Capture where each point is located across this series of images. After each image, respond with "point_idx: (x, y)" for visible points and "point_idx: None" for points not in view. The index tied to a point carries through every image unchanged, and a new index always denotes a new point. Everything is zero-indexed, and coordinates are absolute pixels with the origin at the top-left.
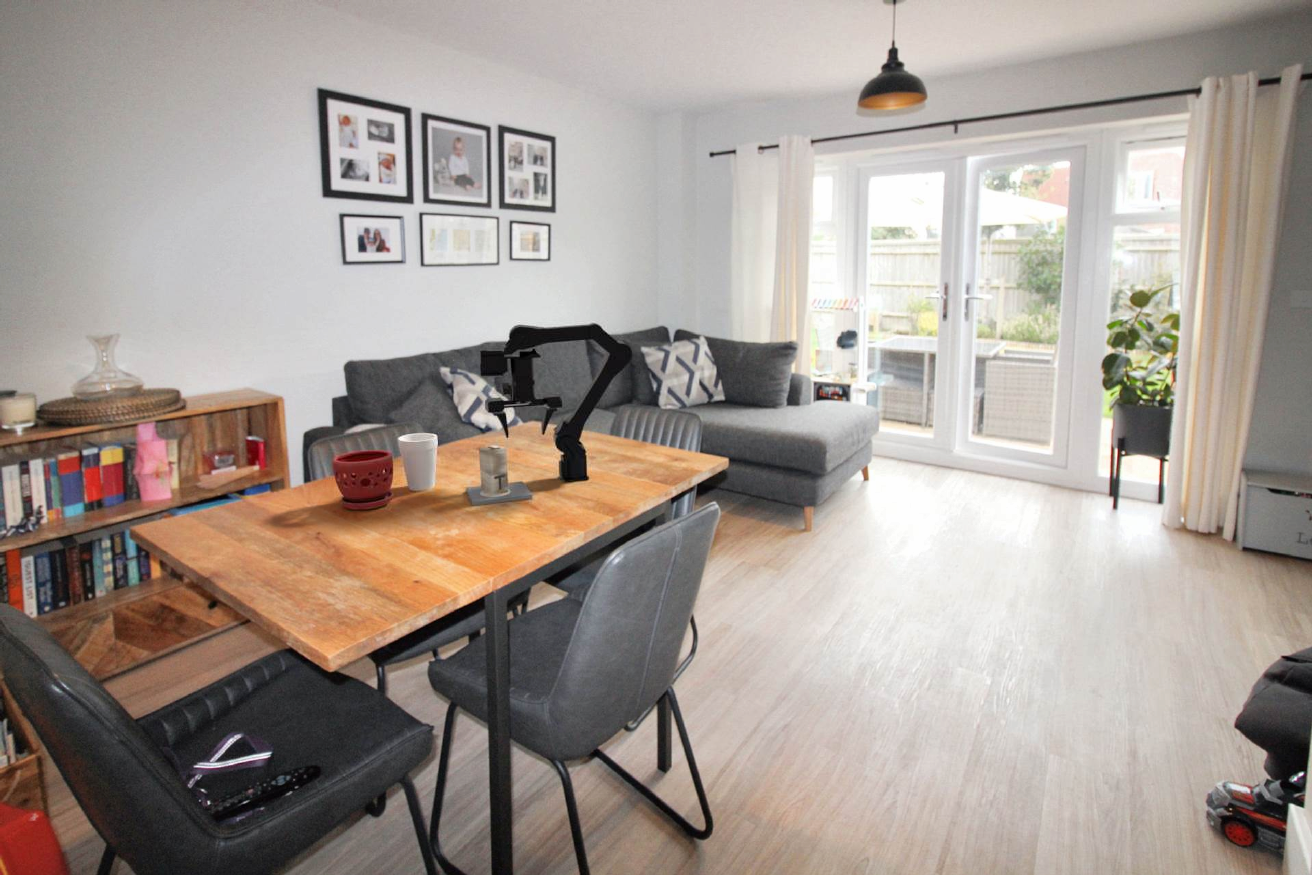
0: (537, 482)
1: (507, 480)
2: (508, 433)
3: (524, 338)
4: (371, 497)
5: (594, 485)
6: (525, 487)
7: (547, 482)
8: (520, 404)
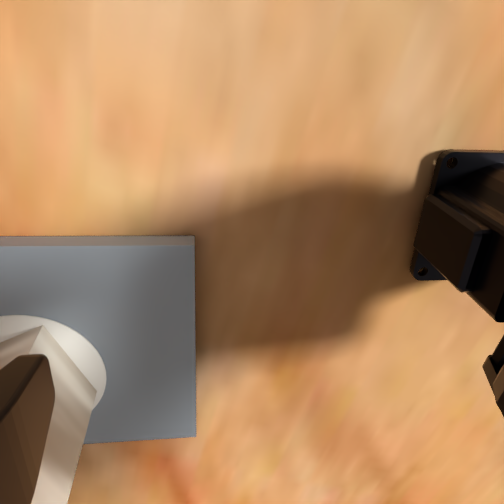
0: (284, 219)
1: (81, 441)
2: (37, 478)
3: None
4: None
5: (487, 347)
6: (189, 347)
7: (331, 238)
8: None
